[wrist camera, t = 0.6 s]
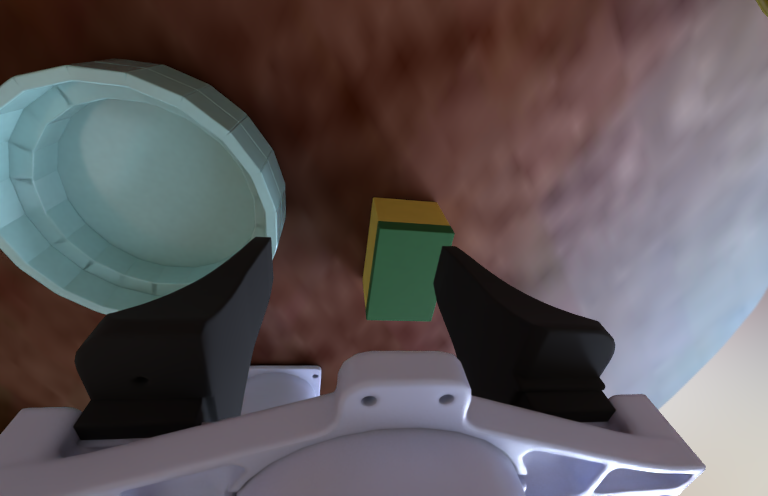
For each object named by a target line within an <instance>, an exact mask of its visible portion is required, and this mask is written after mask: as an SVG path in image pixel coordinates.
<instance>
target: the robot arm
mask: <svg viewBox="0 0 768 496" xmlns="http://www.w3.org/2000/svg"><path fill="white" fill-rule="evenodd" d="M272 283H273V263H272V241H271V237H255V238H253V239H252V240H251V241H250V242H249V243H247V244H246V245H245V246H244V247H243V248H242V249H240V250H239V251H238V252H237V253H236V254H235V255H233V256H232V257H231V258H230V259H228V260H227V261H226V262H224V263H223V264H222V265H220V266H219V267H217V268H216V269H215V270H213V271H212V272H210V273H209V274H207V275H205V276H204V277H202V278H200V279H199V280H197V281H195V282H193V283H191V284H189V285H187V286H185V287H183V288H181V289H179V290H177V291H175V292H172V293H170V294H168V295H165V296H163V297H160V298H158V299H155V300H152V301H150V302H147V303H144V304H141V305H138V306H134V307H131V308H127V309H124V310H120V311H117V312H113V313H109V314H107V315H106V316H105V317H104V319H103V320H102V321H101V322H100V323H99V324H98V325H97V327H96V328H95V329H94V330H93V332H92V333H91V334H90V335H89V337H88V338H87V339H86V340H85V342H84V343H83V344H82V345H81V347H80V348H79V349H78V351H77V352H76V356H75V365H76V369H77V371H78V374H79V376H80V378H81V380H82V382H83V384H84V386H85V388H86V390H87V393H88V395H89V397H90V399H91V401H90V402H89V404H88V405H87V407H86V408H85V410H84V411H83V413H82V412H81V411H80V410H78V409H75V408H71V407H44V408H24V409H22V410H20V412H19V413H18V414H17V415H16V416H15V418H14V419H13V420H12V421H11V422H10V424H9V425H8V426H7V427H6V428H5V430H4V431H3V432H2V433H1V434H0V496H677V495H678V494H679V493H680V492H681V491H683V489H685V488H686V487H687V486H688V485H689V484H690V483H691V482H692V481H693V480H695V479H696V478H697V477H698V476H699V475H700V474H701V473H702V472H703V471H704V470H705V467H706V466H705V465H704V464H703V463H702V461H701V460H700V459H699V458H698V457H697V455H696V454H695V453H694V452H693V451H692V450H691V448H690V447H689V446H688V445H687V444H686V443H685V441H684V440H683V439H682V438H681V437H680V435H679V434H678V433H677V432H676V431H675V429H674V428H673V427H672V426H671V425H670V424H669V422H668V421H667V420H666V419H665V418H664V417H663V416H662V414H661V413H660V412H659V411H658V409H657V408H656V407H655V406H654V405H653V404H652V402H651V401H650V400H649V399H648V398H647V396H646V395H643V394H632V395H615V396H612V397H610V398H609V399H608V398H607V397H606V396H605V394H604V393H603V392H602V390H604V389H605V384H604V383H603V382H602V380H601V379H600V378H599V377H600V375H601V374H602V372H603V371H604V369H605V368H606V366H607V365H608V363H609V361H610V360H611V358H612V356H613V354H614V350H615V342H614V339H613V338H612V336H611V335H610V334H609V333H608V332H607V331H606V330H605V329H604V327H603V326H602V325H601V324H600V323H599V322H598V321H595V320H592V319H589V318H585V317H582V316H578V315H575V314H572V313H569V312H566V311H564V310H561V309H558V308H555V307H553V306H551V305H548V304H546V303H543V302H541V301H539V300H537V299H535V298H533V297H531V296H529V295H527V294H525V293H523V292H521V291H519V290H517V289H516V288H514V287H512V286H510V285H509V284H507V283H506V282H504V281H502V280H501V279H499V278H498V277H497V276H495V275H494V274H492V273H491V272H489V271H488V270H487V269H485V268H484V267H483V266H481V265H480V264H479V263H477V262H476V261H475V260H473V259H472V258H471V257H470V256H468V255H467V254H466V253H464V252H463V251H462V250H460V249H459V248H457V247H456V246H442V249H441V253H440V257H439V261H438V265H437V270H436V274H435V278H434V282H433V285H434V290H435V295H436V300H437V303H438V306H439V309H440V312H441V314H442V317H443V319H444V322H445V325H446V327H447V330H448V332H449V335H450V337H451V340H452V343H453V346H454V349H455V352H456V355H457V358H456V357H455V356H454V355H453V354H450V353H445V352H440V351H369V352H363V353H358V354H355V355H354V356H352V357H351V358H349V359H348V360H346V361H344V362H343V364H342V366H341V368H340V370H339V372H338V381H337V387H336V390H335V391H334V392H333V393H329V394H325V395H321V396H320V382H321V368H320V367H319V366H250V363H251V358H252V353H253V349H254V345H255V342H256V339H257V336H258V333H259V330H260V327H261V324H262V321H263V318H264V315H265V312H266V308H267V305H268V302H269V299H270V294H271V289H272ZM315 374H316V375H315Z"/></svg>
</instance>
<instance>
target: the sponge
mask: <svg viewBox="0 0 768 496" xmlns="http://www.w3.org/2000/svg"><path fill="white" fill-rule="evenodd" d="M453 237H454V232H453V230H452V228H451V226H450V225H449V223H448V221H447V220H446V218H445V216H444V214H443V213H442V211H441V209H440V207H439V206H438V204H437V203H436V202H427V201H414V200H402V199H389V198H376V197H373V202H372V209H371V217H370V225H369V233H368V241H367V249H366V257H365V265H364V273H363V288H364V298H365V308H366V319H367V320H392V321H431V319H432V316H433V312H434V308H435V305H436V301H437V300H436V295H435V290H434V285H433V282H434V278H435V274H436V270H437V265H438V261H439V257H440V253H441V249H442V246H451V245H452V241H453Z"/></svg>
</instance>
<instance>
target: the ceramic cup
mask: <svg viewBox="0 0 768 496" xmlns="http://www.w3.org/2000/svg"><path fill="white" fill-rule="evenodd" d="M756 2H757V3H758V5H759V7H760V8H761V10H762V12H763V13H764V14H765V15H766V16H767V17H768V0H756Z"/></svg>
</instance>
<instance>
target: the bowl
mask: <svg viewBox="0 0 768 496" xmlns="http://www.w3.org/2000/svg"><path fill="white" fill-rule="evenodd" d="M285 217H286V189H285V182H284V179H283V176H282V173H281V171H280V168H279V165H278V162H277V159H276V157H275V154H274V151H273V150H272V148H271V146H270V145H269V144H268V142H267V141H266V140H265V138H264V137H263V136H262V134H261V133H260V131H259V130H258V129H257V127H256V126H255V125H254V123H253V122H252V121H251V119H250V118H249V116H247V114H246V113H245V112H243V111H242V110H241V109H240V108H238V107H237V106H236V105H235V104H233V103H232V102H231V101H230V100H228V99H227V98H226V97H225V96H223V95H222V94H221V93H220V92H218V91H217V90H216V89H215V88H213V87H212V86H211V85H209V84H207V83H205V82H202V81H200V80H198V79H195V78H193V77H191V76H189V75H186V74H184V73H182V72H179V71H177V70H175V69H173V68H170V67H168V66H166V65H162V64H155V63H147V62H139V61H131V60H123V59H108V60H100V61H92V62H84V63H77V64H69V65H62V66H58V67H53V68H49V69H44V70H39V71H35V72H30V73H26V74H21V75H16V76H14V77H11V78H10V79H8V80H7V81H6V82H5V83H3V84H2V85H1V86H0V249H1V250H2V251H3V252H4V253H5V254H6V255H7V256H8V257H9V258H10V260H11V261H12V262H13V263H14V264H15V265H16V266H19V267H18V268H20V269H21V270H22V271H24V272H25V273H27V274H28V275H30V276H31V277H33V278H34V279H35V280H37V281H38V282H40V283H41V284H43V285H44V286H46V287H47V288H48V289H50V290H51V291H53V292H54V293H56V294H58V295H59V296H62V297H64V298H66V299H69V300H71V301H73V302H76V303H78V304H80V305H82V306H85V307H87V308H89V309H92V310H94V311H96V312H100V313H102V314H109V313H113V312H117V311H120V310H124V309H127V308H131V307H134V306H138V305H141V304H144V303H147V302H150V301H152V300H155V299H158V298H160V297H163V296H165V295H168V294H170V293H172V292H175V291H177V290H179V289H181V288H183V287H185V286H187V285H189V284H191V283H193V282H195V281H197V280H199V279H200V278H202V277H204V276H205V275H207V274H209V273H210V272H212V271H213V270H215V269H216V268H217V267H219V266H220V265H222V264H223V263H224V262H226V261H227V260H228V259H230V258H231V257H232V256H233V255H235V254H236V253H237V252H238V251H239V250H240V249H242V248H243V247H244V246H245V245H246V244H247V243H249V242H250V241H251V240H252V239H253V238H255V237H271V241H272V260H273V257H274V255H275V252H276V250H277V247H278V243H279V239H280V236H281V232H282V229H283V225H284V221H285Z"/></svg>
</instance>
